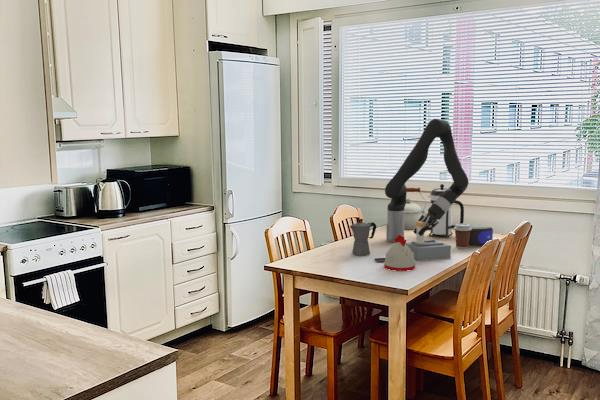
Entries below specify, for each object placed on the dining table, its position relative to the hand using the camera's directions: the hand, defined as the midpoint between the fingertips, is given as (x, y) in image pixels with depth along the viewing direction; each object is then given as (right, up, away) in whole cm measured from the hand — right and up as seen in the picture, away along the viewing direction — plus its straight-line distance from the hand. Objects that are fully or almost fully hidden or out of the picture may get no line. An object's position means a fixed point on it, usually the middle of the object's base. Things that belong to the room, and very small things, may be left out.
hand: (417, 233), depth 280 cm
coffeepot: (-26, -11, +9) cm, 29 cm away
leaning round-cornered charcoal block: (+38, -8, +27) cm, 47 cm away
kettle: (+12, -1, +78) cm, 79 cm away
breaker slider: (+2, -5, +1) cm, 6 cm away
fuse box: (+6, -11, +3) cm, 13 cm away
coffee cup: (+28, -8, +21) cm, 36 cm away
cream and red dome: (-12, -15, -17) cm, 26 cm away
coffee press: (+26, -4, +51) cm, 57 cm away
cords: (-13, -13, -6) cm, 19 cm away
